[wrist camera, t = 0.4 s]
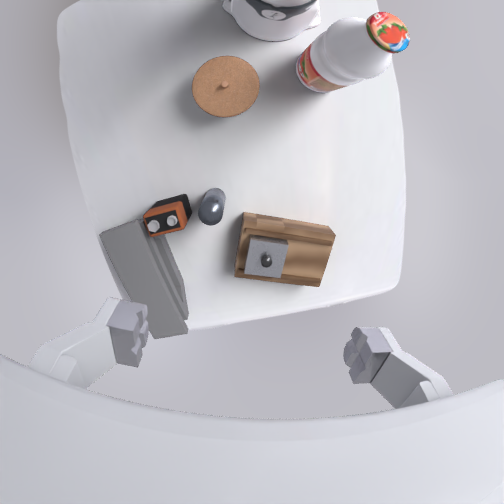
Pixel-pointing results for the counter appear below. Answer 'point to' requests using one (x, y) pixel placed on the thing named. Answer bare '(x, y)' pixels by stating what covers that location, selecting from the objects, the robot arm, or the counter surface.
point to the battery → (168, 215)
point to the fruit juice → (351, 52)
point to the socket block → (289, 248)
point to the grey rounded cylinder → (212, 207)
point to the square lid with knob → (265, 256)
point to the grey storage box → (149, 276)
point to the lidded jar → (225, 86)
